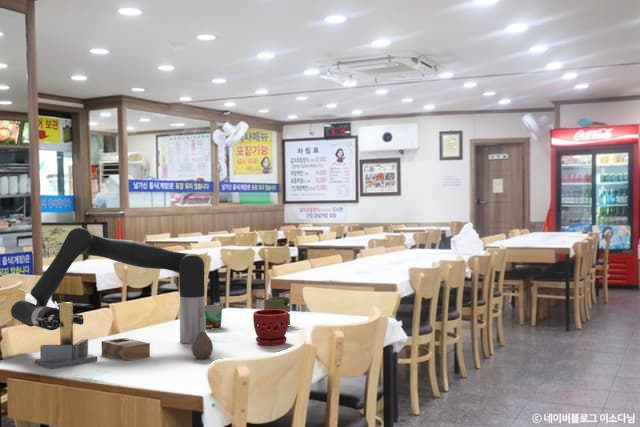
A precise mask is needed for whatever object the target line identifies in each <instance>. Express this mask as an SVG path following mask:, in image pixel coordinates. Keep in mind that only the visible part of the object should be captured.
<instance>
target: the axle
mask: <svg viewBox="0 0 640 427" xmlns="http://www.w3.org/2000/svg"><path fill="white" fill-rule="evenodd" d="M73 307H74V306H73V301H68V302H67V301H65V302H60V303H59V310H60V327H59V345H74V324H73V314H74V312H73V311H74V308H73Z"/></svg>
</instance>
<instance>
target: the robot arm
mask: <svg viewBox="0 0 640 427" xmlns="http://www.w3.org/2000/svg"><path fill="white" fill-rule="evenodd" d="M80 255H81V256H93V257H99V258H100V257H101V258H105V259H109V260H112V261H114V262H118V263H121V264H126V265H130V266H134V267H138V268H145V269H158V270H166V271H170V272H175V273H179V274H178V279H179V280H178V282H179V342H180V343H181V344H192V343H193V341H194V339H195V338H196V336H197V335H198V333H199V332H206V331H207V329H206V316H205V306H206V304H205V302H206V301H205V293H206V292H205V261H204V259H203V258H202V257H201V256H200V255H199V254H196V253H190V252H189V253H188V252H187V253H186V252H179V251H173V250H169V249H165V248H163V247H160V246H156V245H154V244H153V245H152V244H149V243H145V242H142V241H137V240H133V239H132V240H131V239H119V238H118V239H114V238H107V237H103V236H100V235H97V234H94V233H91V232H90V231H89V230H88V229H86V228H83V227H75V228H73V229H71V230H70V231H69V232H68V234H67V235H66V238H65V239H64V241H63V243H62V245H61V246H60V248H59V251H58V252H57V254H56V255H55V257H54V259H53V260H52V262H51V263H50V264H49V266H48V267H47V269H45V272H43V274H42V275H41V276H40V278H39V279H38V280H37V282H36V283H35V284H34V286H33V287H32V288H31V289H30V290H31V291H30V295H31V297H33V298H34V300H36V304H35V303H33V302H31V301H27V300H23V299H22V300H18V301H16V302H15V303H14V304H12V306H11V308H10V315H11V317H12V318H14V320H17V321H18V322H19V323H20V322H21V323H22V324H24V325H25V326H28V327H37V328H39V329H44V330H48V331H55V330H58V329H60V308H57V307H52V306H48V302H49V301H50V299H51V297H52V296H53V295H54V294H55V292H56V291H57V289H58V288H59V287H60V285H61V284H62V282H63V280H64V278H65V276H66V274H67V272H68V270H69V269H70V267H71V265H72V264H73V263H74V262H75V260H76V259H77V258H78V257H79V256H80ZM84 322H85V321H84V315H83V314H76V313H73V325H74V324H75V325H83V324H85V323H84ZM206 333H207V332H206Z"/></svg>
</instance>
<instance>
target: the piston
mask: <svg viewBox="0 0 640 427" xmlns="http://www.w3.org/2000/svg"><path fill="white" fill-rule="evenodd" d="M265 309H281V310H286V311H288V325H290V326H291V314H290V312H291V298H290V297H287V296H271V299H267V298H263V310H265ZM276 323H278V321H277V322H276Z"/></svg>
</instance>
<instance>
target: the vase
mask: <svg viewBox="0 0 640 427" xmlns="http://www.w3.org/2000/svg"><path fill="white" fill-rule="evenodd" d="M213 348H214V347H213V342H212V339H211V338H210V337H209V336H208V334H207V332H199V333H198V335H197V336H196V338H195V339H194V341H193V343H191V353H192V355H193V357H194V358H196V360H207V359H209V358H210V357H211V355H212V353H213V350H214V349H213Z"/></svg>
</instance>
